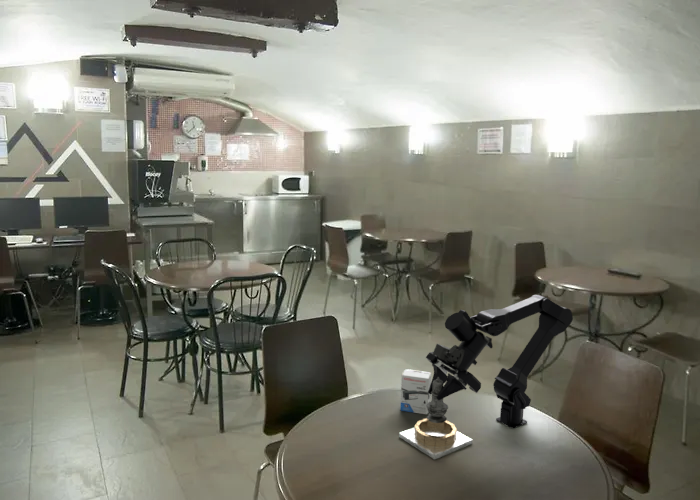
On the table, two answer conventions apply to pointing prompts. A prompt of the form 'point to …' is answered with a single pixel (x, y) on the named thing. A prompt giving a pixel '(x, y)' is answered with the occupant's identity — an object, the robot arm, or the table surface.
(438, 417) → the grey stone tall piece
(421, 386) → the ink box
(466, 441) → the socket plate
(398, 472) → the table surface
